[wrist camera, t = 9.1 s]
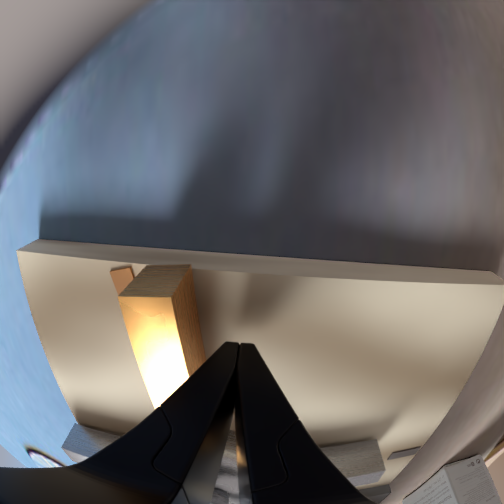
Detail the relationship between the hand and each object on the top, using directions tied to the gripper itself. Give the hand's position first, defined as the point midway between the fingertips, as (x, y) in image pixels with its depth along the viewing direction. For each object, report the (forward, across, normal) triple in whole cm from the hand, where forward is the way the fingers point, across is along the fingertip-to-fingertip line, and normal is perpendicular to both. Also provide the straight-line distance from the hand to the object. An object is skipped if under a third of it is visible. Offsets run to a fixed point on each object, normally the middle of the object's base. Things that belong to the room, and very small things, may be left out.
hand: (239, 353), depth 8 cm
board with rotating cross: (+2, -1, +8) cm, 8 cm away
